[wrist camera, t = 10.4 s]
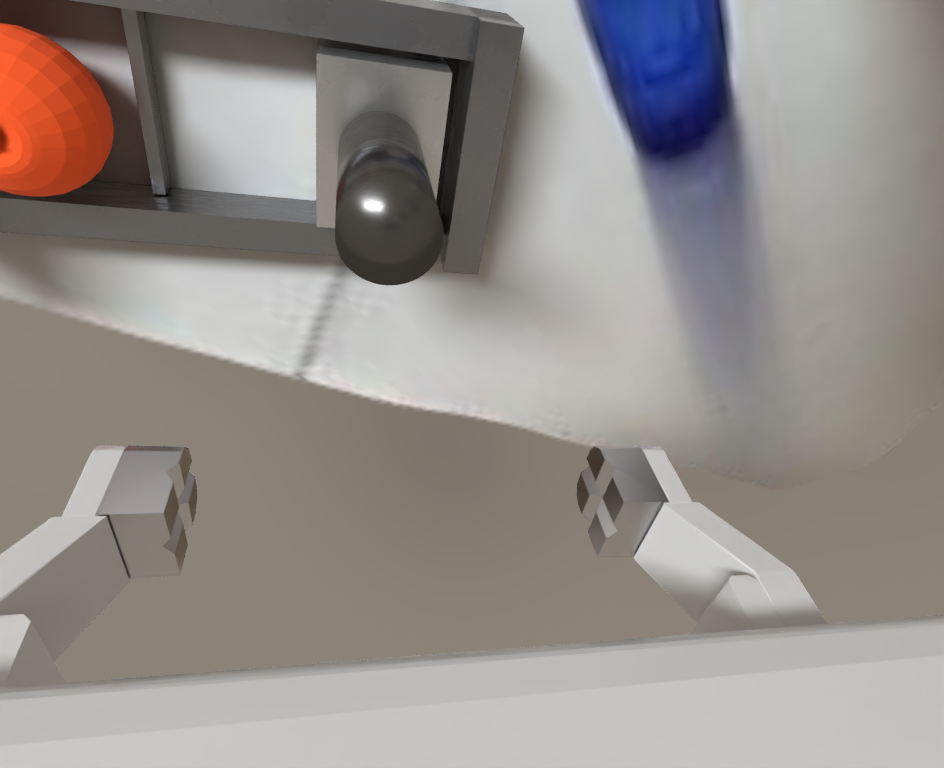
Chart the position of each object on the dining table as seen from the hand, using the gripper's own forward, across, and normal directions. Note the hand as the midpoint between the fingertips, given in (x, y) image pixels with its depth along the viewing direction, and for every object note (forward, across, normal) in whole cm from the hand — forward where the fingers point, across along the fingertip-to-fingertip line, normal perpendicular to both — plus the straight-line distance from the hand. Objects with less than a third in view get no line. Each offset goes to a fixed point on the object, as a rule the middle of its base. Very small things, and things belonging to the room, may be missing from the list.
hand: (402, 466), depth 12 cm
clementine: (+26, +16, +1) cm, 30 cm away
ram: (+25, 0, +1) cm, 25 cm away
